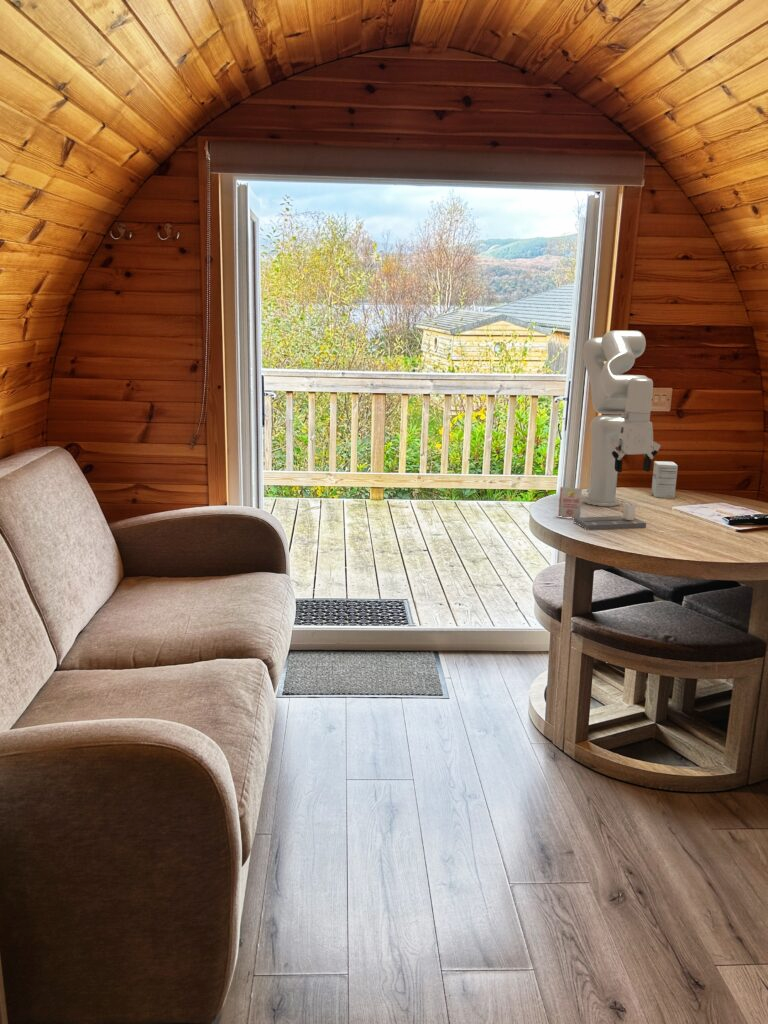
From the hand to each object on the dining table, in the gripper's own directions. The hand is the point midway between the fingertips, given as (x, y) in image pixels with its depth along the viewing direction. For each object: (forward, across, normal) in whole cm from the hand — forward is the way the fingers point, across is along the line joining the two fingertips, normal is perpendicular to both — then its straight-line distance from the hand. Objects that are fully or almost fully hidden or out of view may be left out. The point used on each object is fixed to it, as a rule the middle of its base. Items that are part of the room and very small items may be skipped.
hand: (632, 471), depth 255 cm
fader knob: (+16, 0, -1) cm, 16 cm away
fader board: (+17, -7, -1) cm, 19 cm away
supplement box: (+18, +34, +37) cm, 54 cm away
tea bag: (+18, -15, +11) cm, 26 cm away
